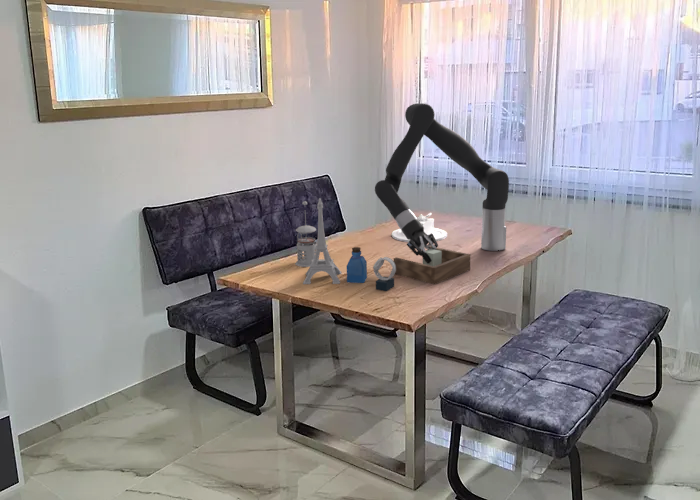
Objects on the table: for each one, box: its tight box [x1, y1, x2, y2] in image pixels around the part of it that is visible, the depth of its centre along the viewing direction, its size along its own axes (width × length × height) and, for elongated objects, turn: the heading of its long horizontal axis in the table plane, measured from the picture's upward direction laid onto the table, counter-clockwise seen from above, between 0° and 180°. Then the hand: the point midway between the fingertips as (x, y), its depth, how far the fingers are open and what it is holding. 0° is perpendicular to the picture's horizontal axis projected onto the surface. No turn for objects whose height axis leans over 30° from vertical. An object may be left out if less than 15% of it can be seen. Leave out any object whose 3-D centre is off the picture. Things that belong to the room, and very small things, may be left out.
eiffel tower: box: [302, 198, 342, 285], centre depth 245 cm, size 13×13×30 cm
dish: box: [391, 212, 448, 243], centre depth 303 cm, size 25×25×11 cm
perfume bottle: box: [346, 246, 368, 284], centre depth 244 cm, size 6×6×12 cm
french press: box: [294, 200, 317, 268], centre depth 265 cm, size 10×12×25 cm
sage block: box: [422, 249, 442, 266], centre depth 252 cm, size 5×5×8 cm
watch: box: [372, 256, 396, 292], centre depth 235 cm, size 6×8×11 cm
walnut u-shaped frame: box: [393, 246, 471, 285], centre depth 252 cm, size 19×22×6 cm
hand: (434, 260), depth 251 cm, fingers closed on sage block, 5 cm apart
